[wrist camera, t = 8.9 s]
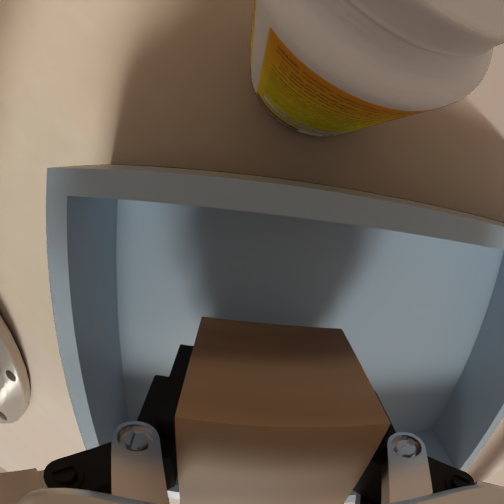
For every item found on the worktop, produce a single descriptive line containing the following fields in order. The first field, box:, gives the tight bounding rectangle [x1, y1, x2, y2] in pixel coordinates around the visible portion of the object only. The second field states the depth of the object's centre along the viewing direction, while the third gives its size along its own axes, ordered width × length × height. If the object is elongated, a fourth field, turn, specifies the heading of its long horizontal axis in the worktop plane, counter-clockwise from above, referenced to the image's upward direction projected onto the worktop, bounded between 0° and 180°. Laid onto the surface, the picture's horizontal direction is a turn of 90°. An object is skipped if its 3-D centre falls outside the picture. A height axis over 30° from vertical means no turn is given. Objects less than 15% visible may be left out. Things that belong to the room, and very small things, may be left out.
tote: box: [46, 164, 504, 503], centre depth 13 cm, size 21×15×5 cm
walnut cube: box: [175, 316, 391, 504], centre depth 9 cm, size 5×5×5 cm
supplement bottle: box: [250, 0, 504, 136], centre depth 7 cm, size 6×6×10 cm
